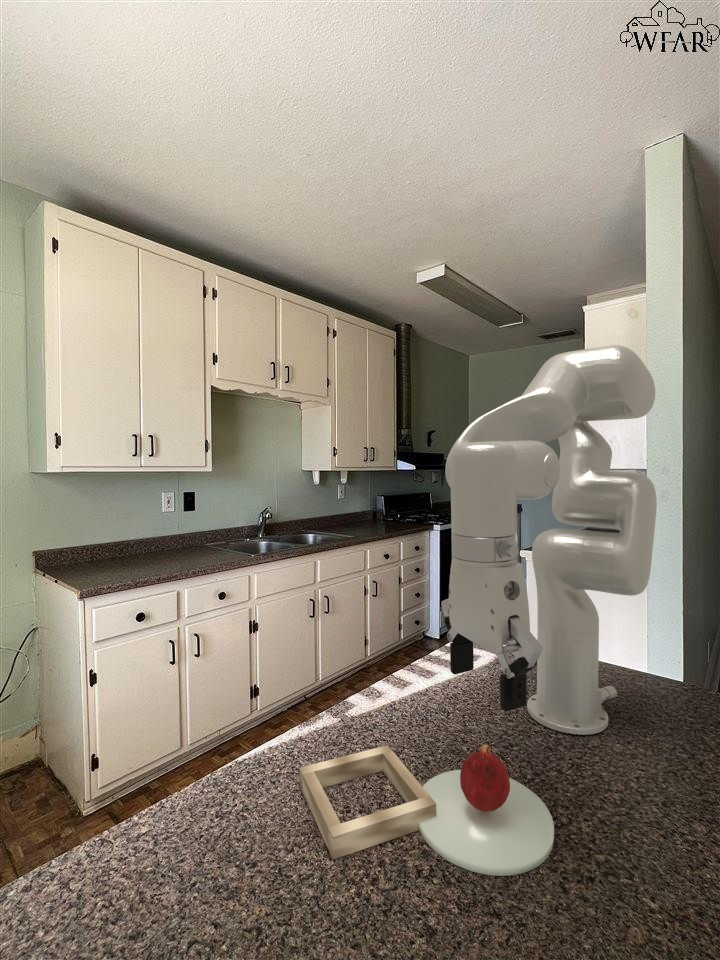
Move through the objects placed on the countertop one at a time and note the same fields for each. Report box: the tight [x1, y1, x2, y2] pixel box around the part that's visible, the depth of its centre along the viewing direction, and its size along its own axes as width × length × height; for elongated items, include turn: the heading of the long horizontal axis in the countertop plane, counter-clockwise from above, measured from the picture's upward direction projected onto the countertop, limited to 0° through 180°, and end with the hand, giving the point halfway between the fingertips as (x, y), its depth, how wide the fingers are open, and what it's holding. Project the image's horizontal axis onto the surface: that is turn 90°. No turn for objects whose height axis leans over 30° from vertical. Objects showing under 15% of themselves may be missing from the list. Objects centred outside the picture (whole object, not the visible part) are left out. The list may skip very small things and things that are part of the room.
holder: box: [299, 744, 436, 860], centre depth 61 cm, size 13×13×2 cm
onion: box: [460, 743, 510, 812], centre depth 58 cm, size 6×6×8 cm
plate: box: [418, 769, 555, 877], centre depth 58 cm, size 16×16×1 cm
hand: (485, 688), depth 58 cm, fingers open, 9 cm apart
